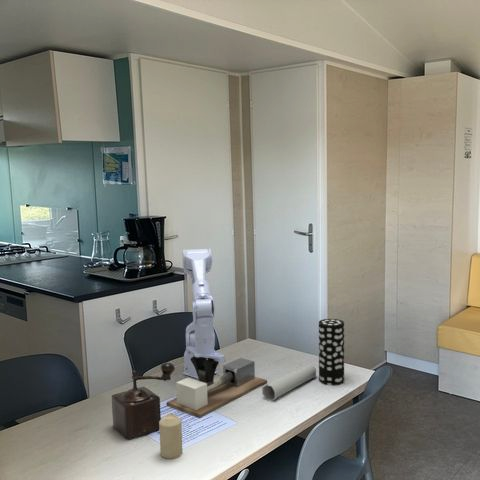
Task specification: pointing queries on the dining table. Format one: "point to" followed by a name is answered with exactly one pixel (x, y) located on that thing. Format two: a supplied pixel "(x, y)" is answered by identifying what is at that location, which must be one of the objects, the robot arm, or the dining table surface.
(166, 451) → the candle
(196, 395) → the cream rectangular block
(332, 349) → the white-spotted black cylinder
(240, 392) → the base board
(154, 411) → the manual coffee grinder
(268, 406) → the dining table surface
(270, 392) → the tube
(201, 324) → the robot arm
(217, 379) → the inner tube
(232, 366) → the sleeve
